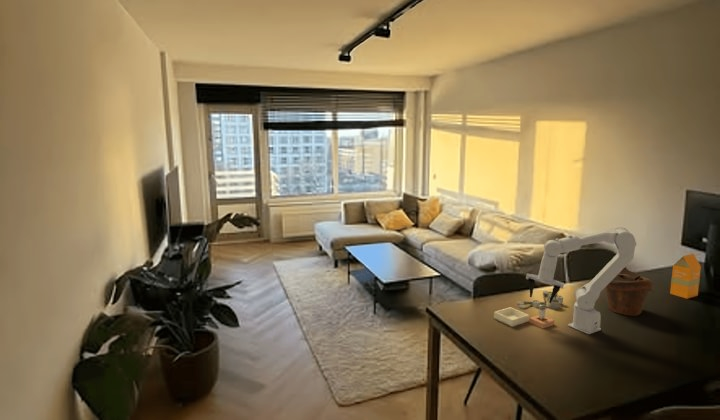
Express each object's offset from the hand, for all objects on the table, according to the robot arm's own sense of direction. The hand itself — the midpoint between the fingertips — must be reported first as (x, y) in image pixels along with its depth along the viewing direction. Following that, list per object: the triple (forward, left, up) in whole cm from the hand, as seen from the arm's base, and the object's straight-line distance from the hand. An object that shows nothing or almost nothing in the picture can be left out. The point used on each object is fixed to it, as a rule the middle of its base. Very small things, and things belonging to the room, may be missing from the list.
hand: (540, 299), depth 178 cm
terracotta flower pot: (-11, -43, -10) cm, 45 cm away
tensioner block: (-1, 0, -10) cm, 10 cm away
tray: (+8, +8, -10) cm, 15 cm away
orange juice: (-15, -85, -10) cm, 87 cm away
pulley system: (+12, -19, -11) cm, 25 cm away
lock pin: (-1, 0, -10) cm, 10 cm away
